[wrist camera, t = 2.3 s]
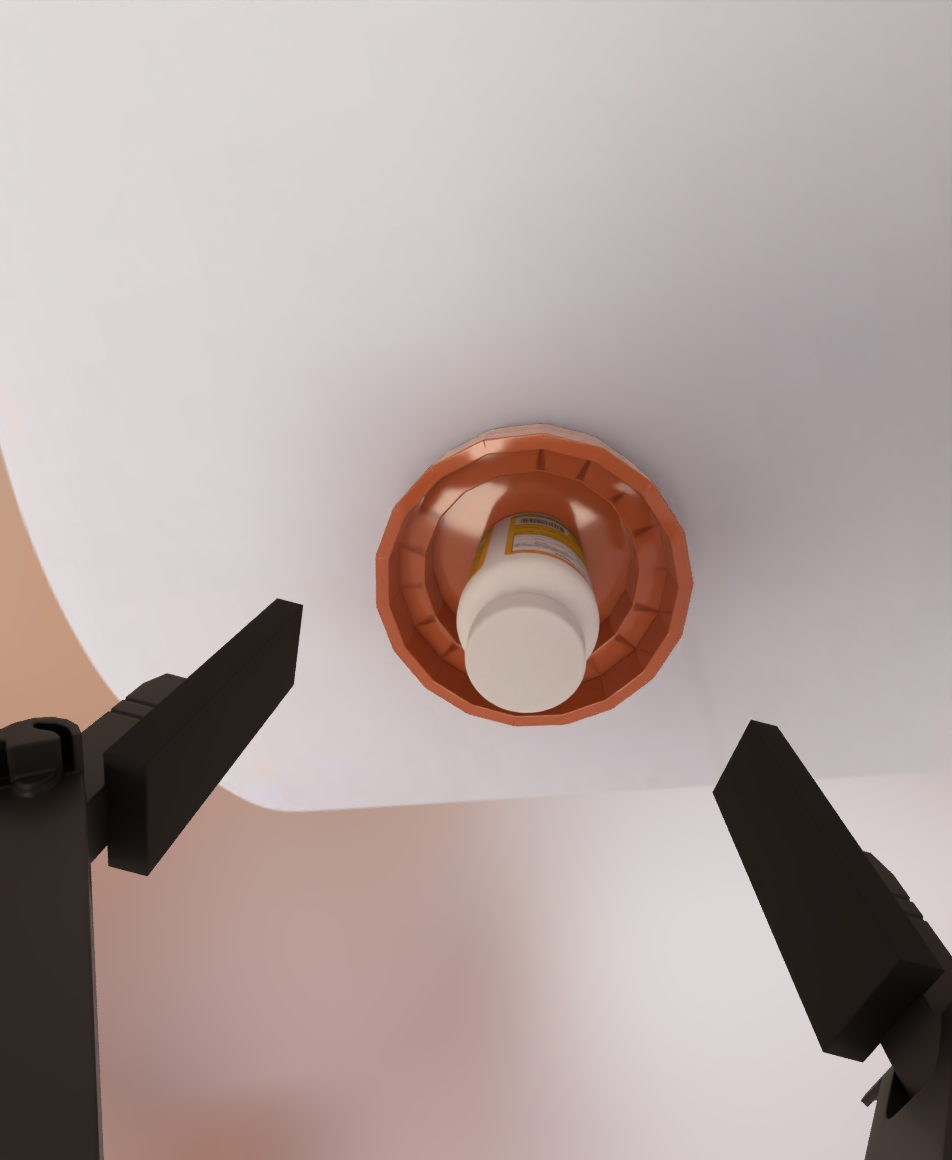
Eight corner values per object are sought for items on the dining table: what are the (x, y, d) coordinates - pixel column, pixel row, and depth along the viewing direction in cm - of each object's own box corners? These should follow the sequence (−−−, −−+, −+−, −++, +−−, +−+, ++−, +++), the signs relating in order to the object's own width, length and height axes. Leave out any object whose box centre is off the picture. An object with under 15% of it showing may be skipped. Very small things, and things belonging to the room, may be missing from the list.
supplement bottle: (507, 629, 28) (491, 753, 19) (455, 541, 26) (412, 629, 17) (603, 586, 26) (636, 697, 17) (554, 490, 25) (563, 558, 16)
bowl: (726, 560, 26) (762, 597, 21) (527, 718, 30) (526, 773, 26) (532, 357, 23) (530, 354, 19) (348, 560, 28) (314, 594, 24)
